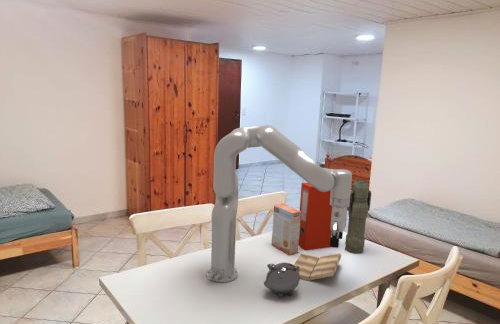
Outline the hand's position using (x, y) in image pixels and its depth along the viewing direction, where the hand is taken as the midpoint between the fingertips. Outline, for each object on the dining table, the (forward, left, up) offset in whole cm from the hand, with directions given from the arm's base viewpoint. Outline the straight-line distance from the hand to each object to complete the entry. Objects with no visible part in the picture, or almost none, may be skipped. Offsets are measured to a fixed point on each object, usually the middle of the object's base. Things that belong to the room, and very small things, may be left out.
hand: (336, 242), depth 145 cm
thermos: (+36, -4, -17) cm, 40 cm away
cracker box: (+21, +27, -17) cm, 38 cm away
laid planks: (+6, +13, -17) cm, 22 cm away
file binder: (+32, +14, -17) cm, 39 cm away
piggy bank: (-18, +16, -17) cm, 29 cm away
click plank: (+6, +4, -14) cm, 16 cm away
